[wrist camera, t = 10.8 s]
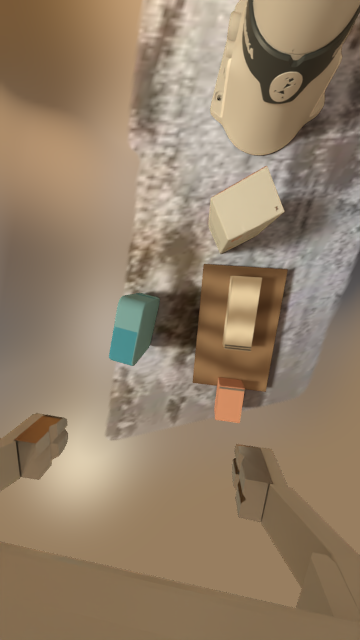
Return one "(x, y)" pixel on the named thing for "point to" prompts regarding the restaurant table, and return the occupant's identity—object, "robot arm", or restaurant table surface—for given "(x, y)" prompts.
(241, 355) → the board
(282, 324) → the restaurant table surface
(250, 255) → the restaurant table surface
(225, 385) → the orange rectangular block
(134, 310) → the data package
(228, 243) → the small box
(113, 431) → the restaurant table surface
